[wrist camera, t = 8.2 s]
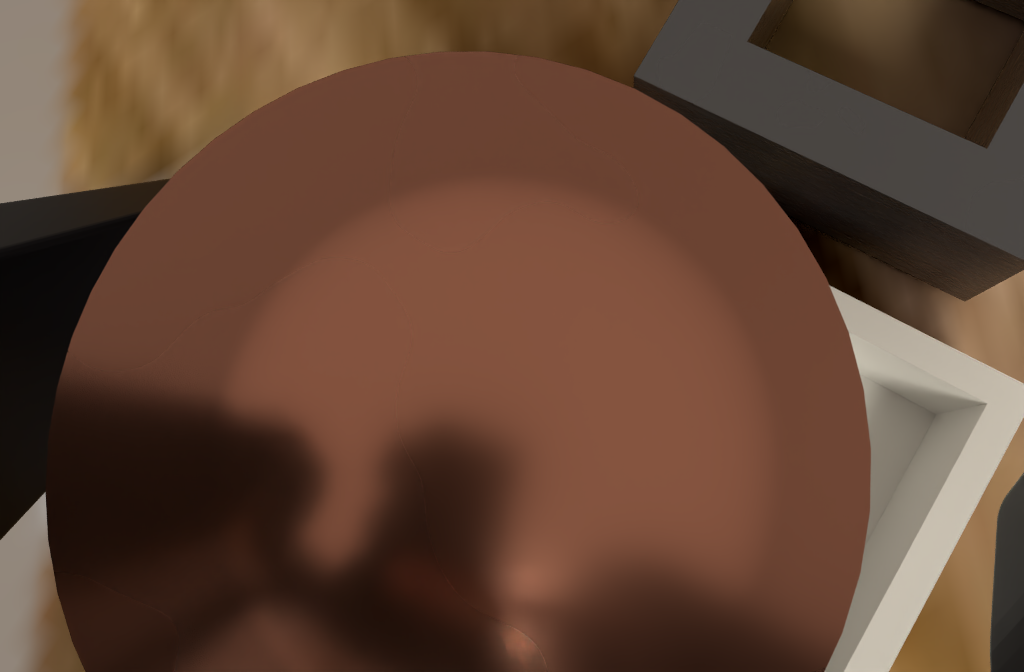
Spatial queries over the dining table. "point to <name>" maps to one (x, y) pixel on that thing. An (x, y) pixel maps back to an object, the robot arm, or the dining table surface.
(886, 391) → the tray
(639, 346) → the pin
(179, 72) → the dining table surface
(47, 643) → the dining table surface
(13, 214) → the robot arm
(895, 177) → the dark grey square socket
